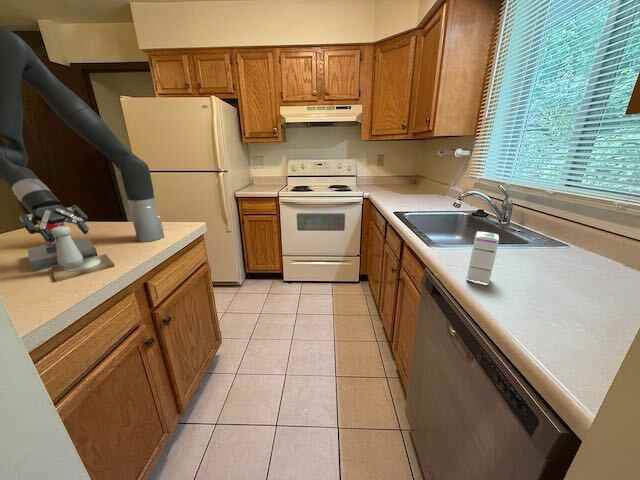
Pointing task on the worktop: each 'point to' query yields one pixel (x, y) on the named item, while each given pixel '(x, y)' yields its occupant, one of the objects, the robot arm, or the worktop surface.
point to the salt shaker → (66, 248)
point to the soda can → (50, 230)
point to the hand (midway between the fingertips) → (70, 236)
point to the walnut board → (83, 267)
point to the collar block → (48, 254)
